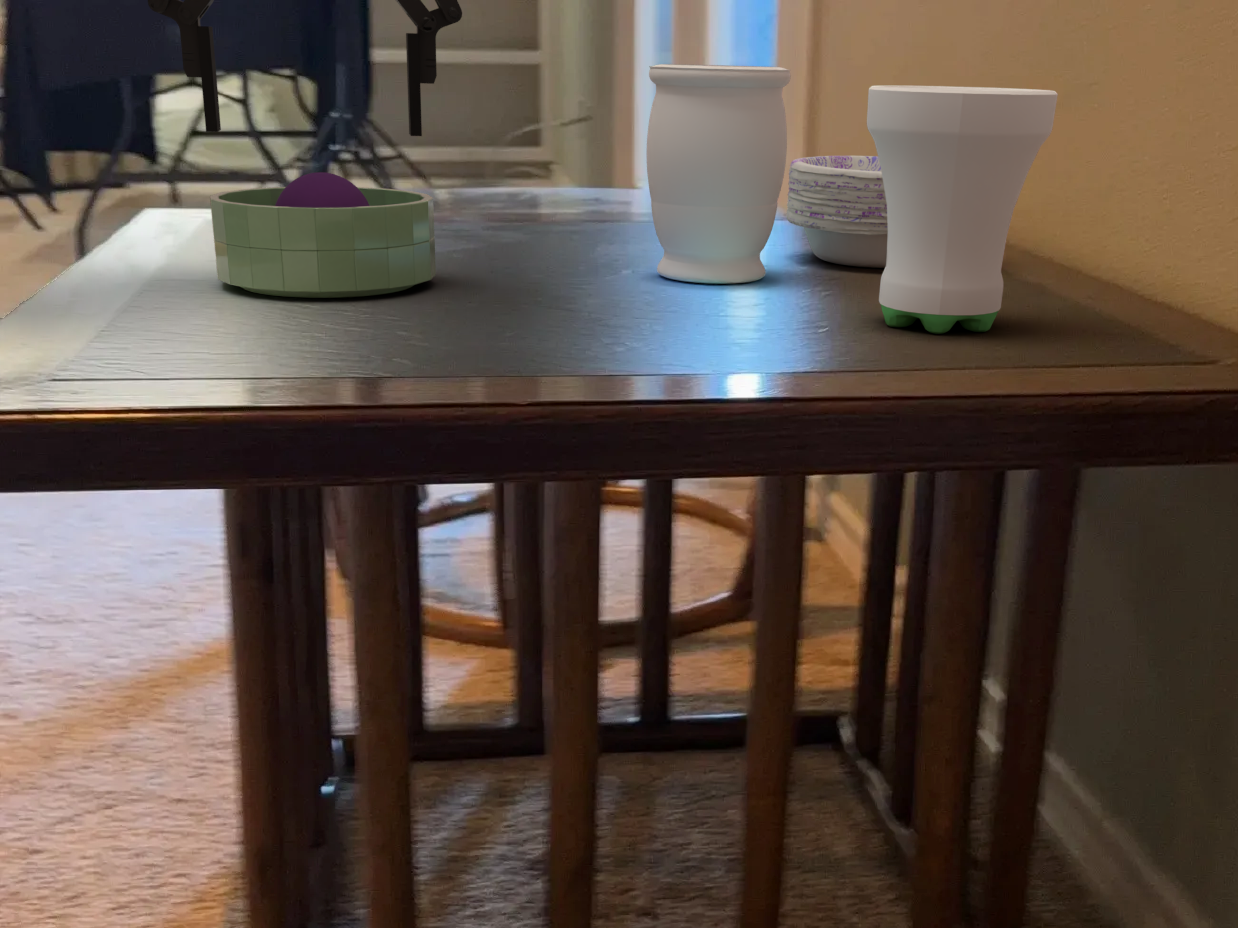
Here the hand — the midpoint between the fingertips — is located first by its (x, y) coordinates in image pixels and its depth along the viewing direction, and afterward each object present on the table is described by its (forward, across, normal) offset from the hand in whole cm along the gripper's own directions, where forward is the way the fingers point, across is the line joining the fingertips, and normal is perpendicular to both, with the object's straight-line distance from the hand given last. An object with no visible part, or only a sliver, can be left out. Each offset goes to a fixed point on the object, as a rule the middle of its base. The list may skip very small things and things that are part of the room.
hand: (315, 133), depth 95 cm
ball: (+10, 0, 0) cm, 10 cm away
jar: (+10, +29, +2) cm, 31 cm away
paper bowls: (+10, +45, +10) cm, 47 cm away
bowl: (+10, 0, 0) cm, 10 cm away
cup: (+10, +39, -19) cm, 45 cm away
